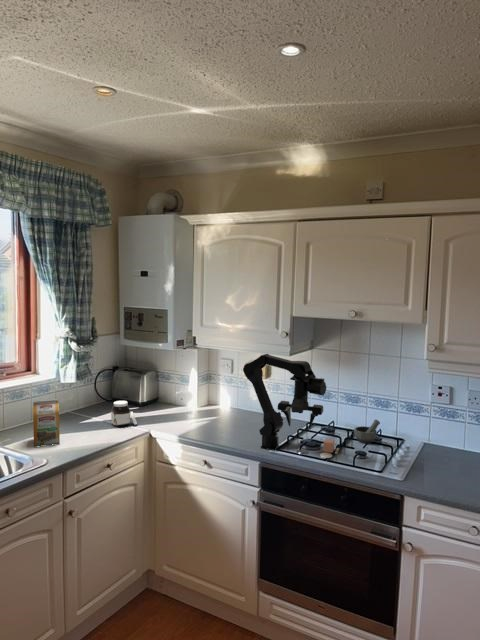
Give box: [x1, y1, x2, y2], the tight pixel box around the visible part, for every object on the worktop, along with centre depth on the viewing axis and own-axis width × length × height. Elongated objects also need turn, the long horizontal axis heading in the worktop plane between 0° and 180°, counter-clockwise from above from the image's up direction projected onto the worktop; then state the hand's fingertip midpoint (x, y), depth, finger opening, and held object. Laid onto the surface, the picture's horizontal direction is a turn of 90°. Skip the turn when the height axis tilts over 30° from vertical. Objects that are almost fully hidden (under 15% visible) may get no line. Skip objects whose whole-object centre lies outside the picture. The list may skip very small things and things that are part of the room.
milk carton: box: [32, 399, 61, 447], centre depth 219 cm, size 11×11×19 cm
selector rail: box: [294, 442, 340, 455], centre depth 212 cm, size 18×6×2 cm, turn 70°
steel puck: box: [296, 449, 310, 456], centre depth 207 cm, size 5×5×2 cm
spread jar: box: [110, 400, 138, 428], centre depth 246 cm, size 12×11×12 cm
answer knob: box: [323, 438, 335, 453], centre depth 210 cm, size 4×4×4 cm
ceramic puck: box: [319, 452, 333, 459], centre depth 204 cm, size 5×5×2 cm
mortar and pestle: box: [353, 419, 381, 445], centre depth 221 cm, size 11×9×12 cm
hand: (299, 427), depth 207 cm, fingers open, 8 cm apart
